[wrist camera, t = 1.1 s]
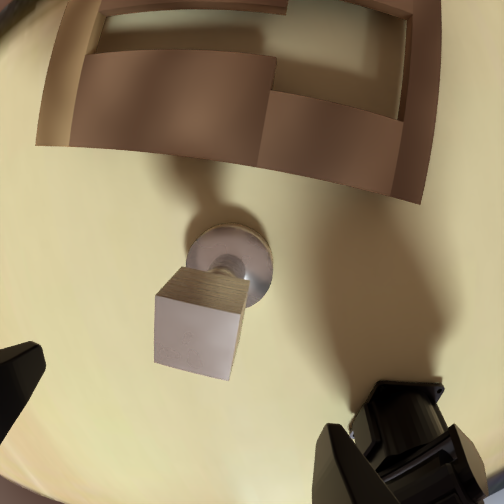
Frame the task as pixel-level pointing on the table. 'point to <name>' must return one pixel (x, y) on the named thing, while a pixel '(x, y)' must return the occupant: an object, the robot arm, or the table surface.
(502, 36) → the table surface
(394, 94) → the table surface
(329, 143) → the keyhole board
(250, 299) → the headed peg
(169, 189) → the table surface
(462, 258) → the table surface
